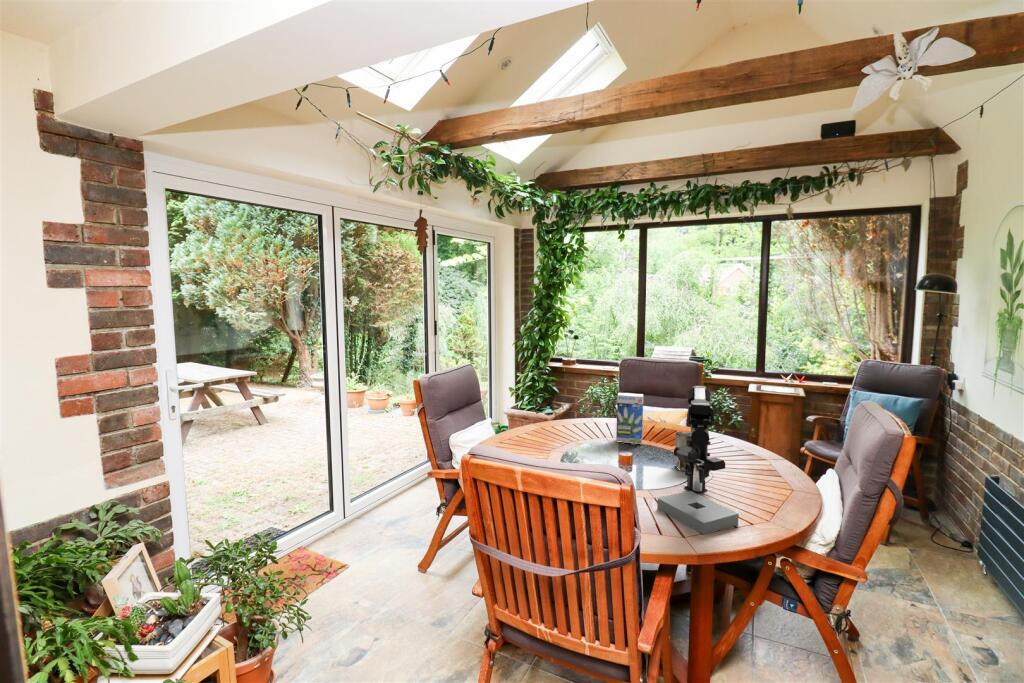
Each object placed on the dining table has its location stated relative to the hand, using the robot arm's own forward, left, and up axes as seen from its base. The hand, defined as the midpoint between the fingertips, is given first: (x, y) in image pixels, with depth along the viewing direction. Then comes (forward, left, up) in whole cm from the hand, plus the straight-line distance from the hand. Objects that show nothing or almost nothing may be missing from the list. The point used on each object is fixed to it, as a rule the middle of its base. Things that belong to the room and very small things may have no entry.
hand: (697, 481), depth 176 cm
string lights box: (-81, +35, -13) cm, 89 cm away
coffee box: (-38, +33, -13) cm, 52 cm away
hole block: (0, 0, -13) cm, 13 cm away
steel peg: (0, 0, -3) cm, 3 cm away
